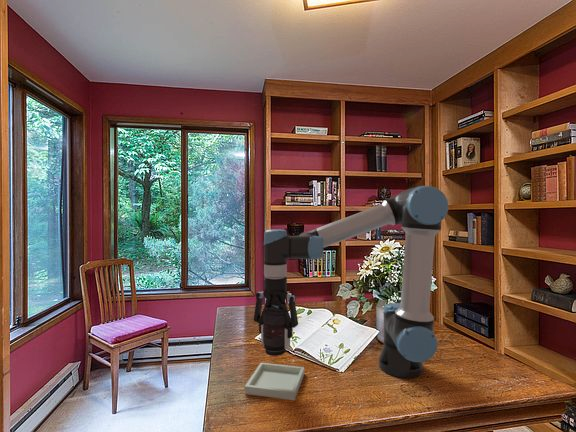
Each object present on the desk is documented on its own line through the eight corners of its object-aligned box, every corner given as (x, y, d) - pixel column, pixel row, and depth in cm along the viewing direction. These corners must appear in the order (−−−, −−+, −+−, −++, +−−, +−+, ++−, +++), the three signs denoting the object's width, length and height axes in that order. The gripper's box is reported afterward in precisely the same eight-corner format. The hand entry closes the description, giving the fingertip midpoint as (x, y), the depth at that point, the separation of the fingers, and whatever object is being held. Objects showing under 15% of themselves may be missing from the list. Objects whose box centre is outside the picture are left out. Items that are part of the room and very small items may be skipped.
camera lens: (285, 358, 103) (285, 311, 103) (260, 356, 105) (260, 309, 104) (290, 347, 111) (290, 303, 111) (267, 345, 113) (266, 302, 112)
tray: (304, 374, 114) (304, 367, 114) (294, 400, 98) (294, 392, 98) (260, 369, 118) (260, 362, 118) (244, 393, 102) (244, 386, 102)
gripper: (308, 276, 106) (308, 345, 107) (253, 272, 115) (253, 336, 115) (300, 281, 100) (300, 355, 100) (242, 276, 108) (242, 344, 108)
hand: (275, 345), depth 108 cm, fingers closed on camera lens, 8 cm apart
